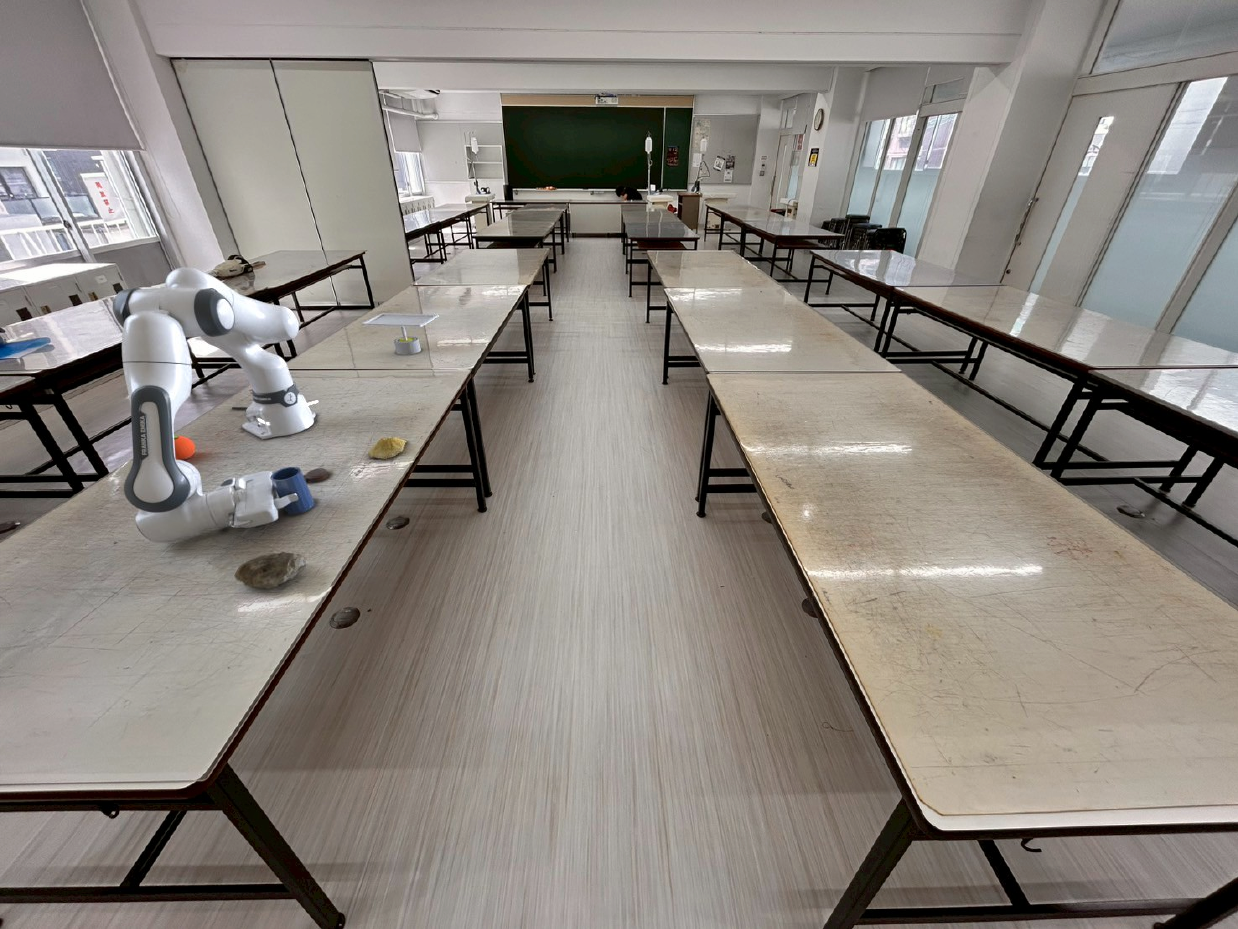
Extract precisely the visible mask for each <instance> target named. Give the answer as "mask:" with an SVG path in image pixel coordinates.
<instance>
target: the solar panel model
mask: <svg viewBox="0 0 1238 929" xmlns="http://www.w3.org/2000/svg"><path fill="white" fill-rule="evenodd" d="M439 317H440V316H439V314H431V313H430V314H429V313H428V314H425V313H389V312H388V313H387V312H386V313H385V312H381V313H379V314H377V315H375V316H373V317H371V318H369V319H367V320H365V321H363V322H361V323H360V326H361V327H387V328H388V327H391V328H395V327H396V328H400V329H401V333H402V337H397V338H395V339H394V340H393V344H394V348H395V352H396V354H398V355H403V356H406V355H407V356H408V355H415V354H418V353H420V352H421V351H422V348H421V344H420V340H419V338H418V336H417V337H416V336H407V332H406V329H405V328H422V327H424V326H425V325H427V324H428V323H431V322H432V321H433V320H435V319H437V318H439Z"/></svg>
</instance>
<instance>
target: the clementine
mask: <svg viewBox="0 0 1238 929" xmlns="http://www.w3.org/2000/svg"><path fill="white" fill-rule="evenodd" d="M174 445H175V459H177V460H183V461H184V460H187V459H189V458H191V457H193V455H194V453H195V451H196V446H195V443H194V441H193V440H191V439H190V438H188V437H186V436H183V435H182V436H181V435H174Z"/></svg>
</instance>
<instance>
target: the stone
mask: <svg viewBox="0 0 1238 929" xmlns="http://www.w3.org/2000/svg"><path fill="white" fill-rule="evenodd" d="M308 564H309V559H308V557H307V556H305V555H302V554H301V553H298V552H287V551H281V552H269V553H266V554H261V555H259V556H256V557H254V558H252V559H250V560H249V559H248V560H247V561H245V562H244V563H242V564H240V565H239V566H238V568H237V569H236V571H235V573H234V574H233V576H234V578H235V580H236V581H238V582H240V583H243V584H244V586H246V587H247V586H248V587H252V588H262V589H267V590H270V589H272V588H273V589H274V588H277V587H281V586H282V585H284V584H285V583H286V582H288V581H291V580H292V579H294V578H296V576H297V575H298V574H299V573H301V572H302V571H304V570H305V568H306V567H307V565H308Z"/></svg>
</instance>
